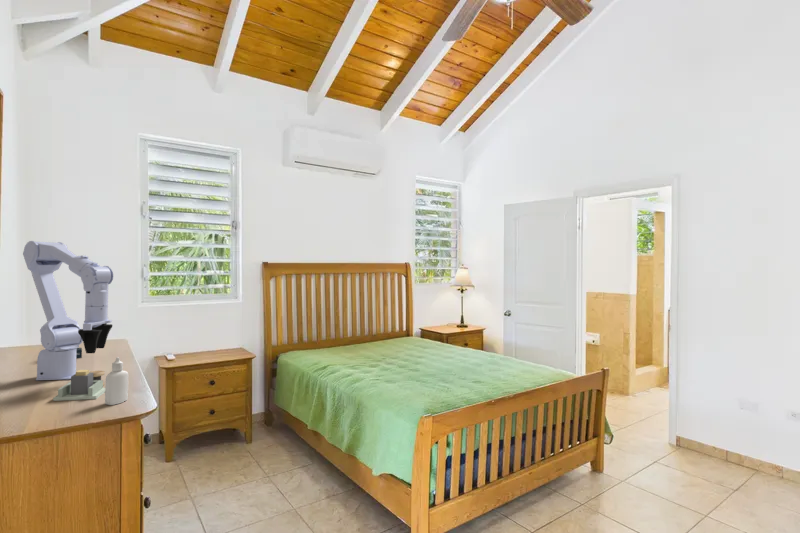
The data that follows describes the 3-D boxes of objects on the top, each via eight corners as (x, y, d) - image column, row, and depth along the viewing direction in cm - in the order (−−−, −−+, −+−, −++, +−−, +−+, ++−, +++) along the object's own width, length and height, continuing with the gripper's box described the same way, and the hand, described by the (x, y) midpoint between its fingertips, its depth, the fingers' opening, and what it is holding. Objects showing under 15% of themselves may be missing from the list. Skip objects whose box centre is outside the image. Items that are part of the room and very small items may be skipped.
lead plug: (70, 394, 123) (71, 372, 123) (76, 390, 127) (77, 369, 127) (87, 394, 124) (87, 372, 124) (92, 390, 128) (93, 368, 128)
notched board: (53, 400, 120) (53, 389, 120) (66, 392, 128) (66, 381, 128) (96, 398, 123) (96, 387, 123) (106, 390, 131) (107, 380, 131)
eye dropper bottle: (102, 402, 120) (103, 357, 120) (125, 398, 125) (127, 354, 124) (106, 406, 117) (107, 360, 117) (130, 402, 122) (132, 357, 121)
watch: (63, 360, 165) (64, 330, 165) (63, 356, 172) (64, 327, 171) (82, 358, 168) (82, 329, 168) (81, 354, 175) (82, 326, 175)
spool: (80, 388, 132) (81, 375, 132) (87, 384, 137) (88, 370, 136) (100, 388, 133) (100, 374, 133) (106, 383, 138) (106, 370, 138)
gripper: (103, 308, 132) (101, 355, 132) (119, 303, 146) (118, 345, 146) (75, 308, 130) (73, 355, 130) (94, 303, 144) (93, 346, 144)
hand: (95, 350), depth 138 cm, fingers open, 7 cm apart
